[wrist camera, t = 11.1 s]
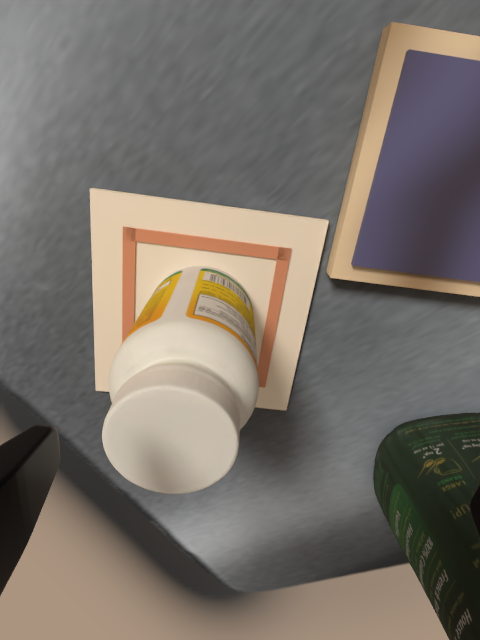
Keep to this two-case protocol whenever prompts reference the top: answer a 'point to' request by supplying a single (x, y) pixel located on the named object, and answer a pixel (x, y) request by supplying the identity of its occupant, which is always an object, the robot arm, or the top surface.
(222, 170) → the top surface
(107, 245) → the print card
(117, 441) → the supplement bottle
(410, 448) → the coffee jar
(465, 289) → the ink pad
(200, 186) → the top surface
